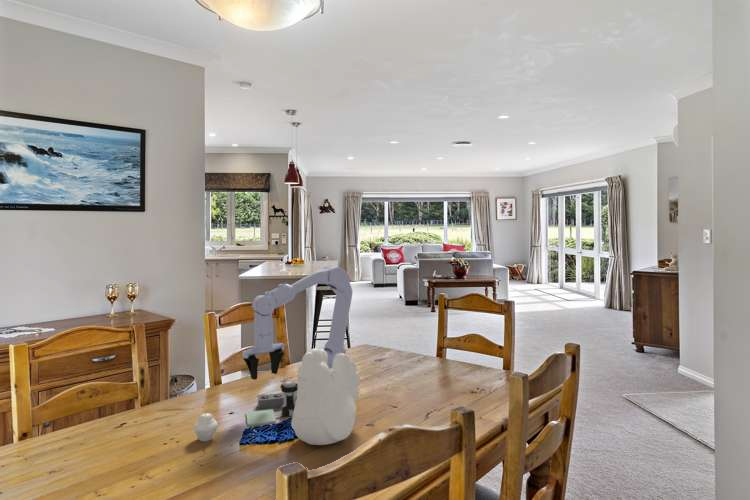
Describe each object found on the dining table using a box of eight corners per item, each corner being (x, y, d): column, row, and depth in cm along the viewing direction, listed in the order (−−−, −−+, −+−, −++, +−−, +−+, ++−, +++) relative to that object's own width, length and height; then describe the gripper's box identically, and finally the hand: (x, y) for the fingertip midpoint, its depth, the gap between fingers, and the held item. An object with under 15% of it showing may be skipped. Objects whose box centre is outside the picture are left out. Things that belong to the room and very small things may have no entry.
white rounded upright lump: (316, 461, 112) (315, 358, 111) (278, 441, 123) (277, 348, 122) (386, 430, 130) (385, 341, 129) (347, 415, 141) (347, 334, 140)
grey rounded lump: (195, 445, 121) (194, 419, 121) (192, 437, 126) (192, 411, 126) (220, 441, 124) (219, 414, 123) (216, 432, 129) (216, 407, 129)
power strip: (313, 398, 156) (312, 387, 156) (315, 403, 151) (315, 392, 151) (257, 404, 150) (257, 393, 150) (259, 410, 146) (258, 398, 146)
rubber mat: (272, 410, 145) (272, 408, 145) (276, 422, 135) (276, 420, 135) (246, 413, 143) (246, 412, 143) (247, 426, 133) (247, 424, 133)
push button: (279, 420, 138) (279, 386, 137) (274, 414, 142) (273, 381, 142) (301, 415, 141) (300, 383, 141) (295, 410, 145) (294, 378, 145)
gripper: (274, 328, 155) (275, 368, 155) (236, 335, 144) (237, 379, 145) (288, 331, 150) (288, 372, 151) (249, 338, 140) (250, 383, 140)
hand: (264, 376), depth 147 cm, fingers open, 7 cm apart
